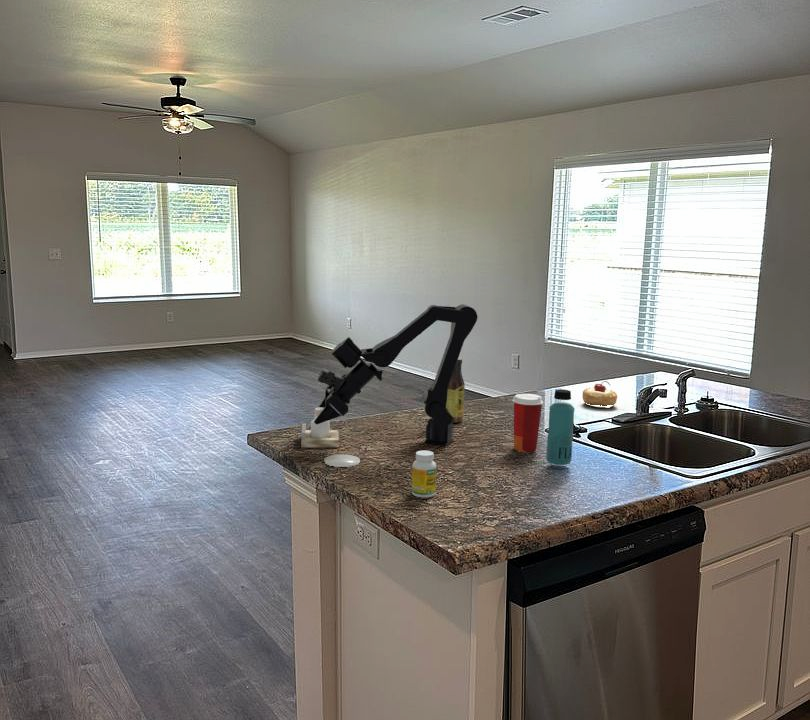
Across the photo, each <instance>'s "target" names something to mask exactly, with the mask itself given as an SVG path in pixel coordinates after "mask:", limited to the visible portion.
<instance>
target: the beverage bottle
mask: <svg viewBox="0 0 810 720" xmlns="http://www.w3.org/2000/svg"><path fill="white" fill-rule="evenodd" d="M571 392H572V391H571V390H568V389H563V388H562V389H555V391H554V395H553V396H554V397H553V399H555V400H561V401H555V402H553V403H552V404H550V406H549V407H548V408H549V412H548V413H549V414H548V430H547V432H548V433H547V440H546V449H545V450H546V453H545V455H546V456H545V457H546V459H545V460H546V461H547V463H549V464H551V465H559V466H565V465H566V466H568V465H569V464H571V461H572V454H573V446H574V445H573V440H574V438H573V436H574V435H573V434H574V425H575V423H574V422H575V421H574V420H575V417H574V416H575V408H574V406H573V404H571V403H570V402H567V401H569V400H571V399H572V397H571V396H572V393H571ZM565 401H566V402H565Z"/></svg>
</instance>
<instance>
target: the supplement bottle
mask: <svg viewBox="0 0 810 720" xmlns="http://www.w3.org/2000/svg"><path fill="white" fill-rule="evenodd" d="M434 458H435V455H434V452H433V451H431V450H418V451H416V452H415V460H414V461H413V463H412V469H411V470H412V472H411V473H412V475H411V476H412V477H411V494H412V496H415V497H418V498H423V499H424V498H426V499H427V498H432V497H434V496H435V494H436V490H437V489H436V486H437V485H436V484H437V481H436V480H437V463H436V462H435V461H434Z"/></svg>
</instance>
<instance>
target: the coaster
mask: <svg viewBox="0 0 810 720" xmlns="http://www.w3.org/2000/svg"><path fill="white" fill-rule="evenodd" d="M323 462H325V463H324V464H325V465H326V464H327V465H326V466H328V465H329V467H331V466H334V467H333V468H338V467H347V468H353V467H356V465H357V466H359V465H360V464H361V458H359V457H357V456H356V455H351V454H342V453H341V454H333V455H329V456H326V457H325V458H324V460H323ZM359 463H360V464H359ZM352 466H353V467H352Z"/></svg>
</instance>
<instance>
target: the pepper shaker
mask: <svg viewBox="0 0 810 720" xmlns="http://www.w3.org/2000/svg"><path fill="white" fill-rule="evenodd" d="M318 407H319V406H318ZM318 407H315V408H314V413H315V414H314V418H313V419H312V420H311V421H310V430H311V438H330V430H331V428H330V427H331V426H330V425H331V423H330V422H331V420H328V421H325V422H323V423H320V424H317V425H316V424H315V423H314V421H315V419H316V418H317V417H318V415H319V414H320V413H321V411H322V410H323V409H324V408H322V407H319V408H318Z"/></svg>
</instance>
